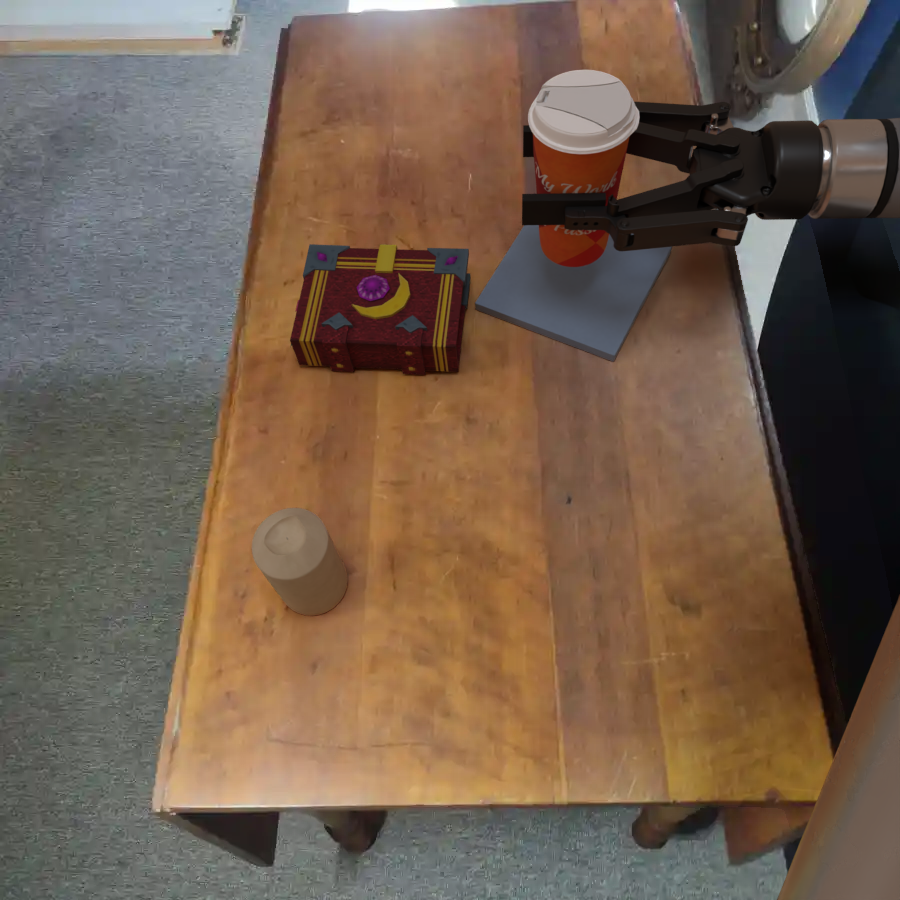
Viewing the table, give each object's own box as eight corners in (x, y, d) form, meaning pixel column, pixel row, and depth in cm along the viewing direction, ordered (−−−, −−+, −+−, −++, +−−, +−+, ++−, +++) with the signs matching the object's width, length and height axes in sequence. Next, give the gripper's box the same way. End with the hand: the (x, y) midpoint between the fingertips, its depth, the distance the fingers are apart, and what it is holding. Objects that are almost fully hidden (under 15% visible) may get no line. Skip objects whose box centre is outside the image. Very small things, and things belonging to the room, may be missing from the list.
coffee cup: (517, 268, 75) (516, 130, 62) (539, 202, 79) (542, 58, 66) (611, 284, 73) (630, 145, 60) (629, 216, 77) (650, 71, 64)
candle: (305, 540, 70) (275, 486, 61) (361, 570, 68) (339, 519, 59) (266, 596, 67) (229, 549, 59) (323, 629, 66) (294, 585, 57)
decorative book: (460, 377, 76) (456, 345, 72) (286, 370, 78) (272, 337, 74) (471, 279, 82) (468, 243, 77) (308, 274, 83) (296, 239, 79)
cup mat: (613, 362, 76) (614, 355, 75) (475, 309, 80) (474, 302, 79) (670, 253, 81) (672, 246, 81) (538, 209, 85) (538, 202, 84)
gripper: (815, 299, 66) (520, 300, 68) (781, 122, 75) (523, 127, 77) (849, 232, 59) (521, 234, 61) (807, 47, 69) (524, 54, 71)
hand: (523, 174), depth 69 cm, fingers closed on coffee cup, 7 cm apart
